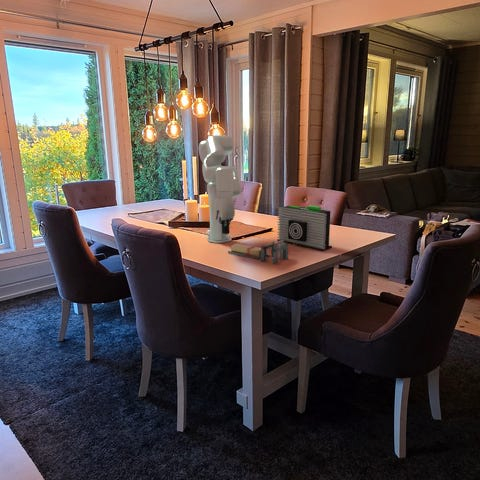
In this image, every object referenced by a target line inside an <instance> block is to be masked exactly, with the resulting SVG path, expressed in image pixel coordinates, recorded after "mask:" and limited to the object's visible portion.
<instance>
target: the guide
mask: <svg viewBox="0 0 480 480" xmlns="http://www.w3.org/2000/svg"><path fill="white" fill-rule="evenodd" d="M227 253H228V254H229V255H233V256H234V255H235V256H240V257H243V258H244V257H246V258H249V259H254V260H259V261H261V257H256V256H251V255H246V254H242V253H237V252H232V251H230V250H227ZM267 258H271V254H269V253H268V254H267Z"/></svg>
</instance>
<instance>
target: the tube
mask: <svg viewBox="0 0 480 480" xmlns="http://www.w3.org/2000/svg"><path fill="white" fill-rule="evenodd" d="M230 249H231V251H232V252H237V253H242V254H246V255H251V256H256V257H261V247H257V246H254V245H247V244H243V243H234V244H231V247H230Z"/></svg>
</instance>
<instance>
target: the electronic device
mask: <svg viewBox="0 0 480 480" xmlns="http://www.w3.org/2000/svg"><path fill="white" fill-rule="evenodd" d="M277 208H278V209H277V213H278V214H277V218H278V219H277V220H278V221H277V239H276V240H277V241H276V242H278V241H280V240H283V244H288V245H294V246H298V247H301V248H307V249H312V250H317V251H319V250H320V252H326V251H328V250H331V249H332V248H333V246H332V245H330V231H331V228H330V227H331V210H327V209H326V210H325V209H322V207H321V206H318V205H307V207H304V206H297V205H286V206H283V205H282V206H281V205H279V206H277ZM325 250H326V251H325Z"/></svg>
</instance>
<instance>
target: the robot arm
mask: <svg viewBox="0 0 480 480" xmlns="http://www.w3.org/2000/svg"><path fill="white" fill-rule="evenodd" d="M234 149H235V140H234V138H233V137H232V136H231V135H229V134H228V135H227V134H225V135H223V134H221V135H220V134H219V135H210V136H209V137H208V138H207V139H206V140H202V141H201V142H200V143H199V144H198V153H199V154H198V155H199V157H200V161H201V162H202V167H201V168H202V170H201V171H202V176H203V179H204V181H205V182H206V183H207V184H206V190H207V191H206V192H207V195H208V203H209V204H208V206H209V207H208V208H209V209H208V211H209V230H207V231H206V232H205V235H207V236H208V237H206V238H207V242H209V243H215V244H221V243H222V244H224V243H228V242H230V241H232V236H229V234H230V225H231V222H232V221H233V220H234V217H235V216H236V215H235V214H236V207H235V198H236V199H237V198H238V197H240V196H241V194H242V192H243V191H242V184H241V181H240V176H239V173H238V170H237V168H236V167H235V166H231V165H226V166H225V165H222V163H224V162H225V160H226V157H227V156H229V155H230V154H231V153H233V152H234Z"/></svg>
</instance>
